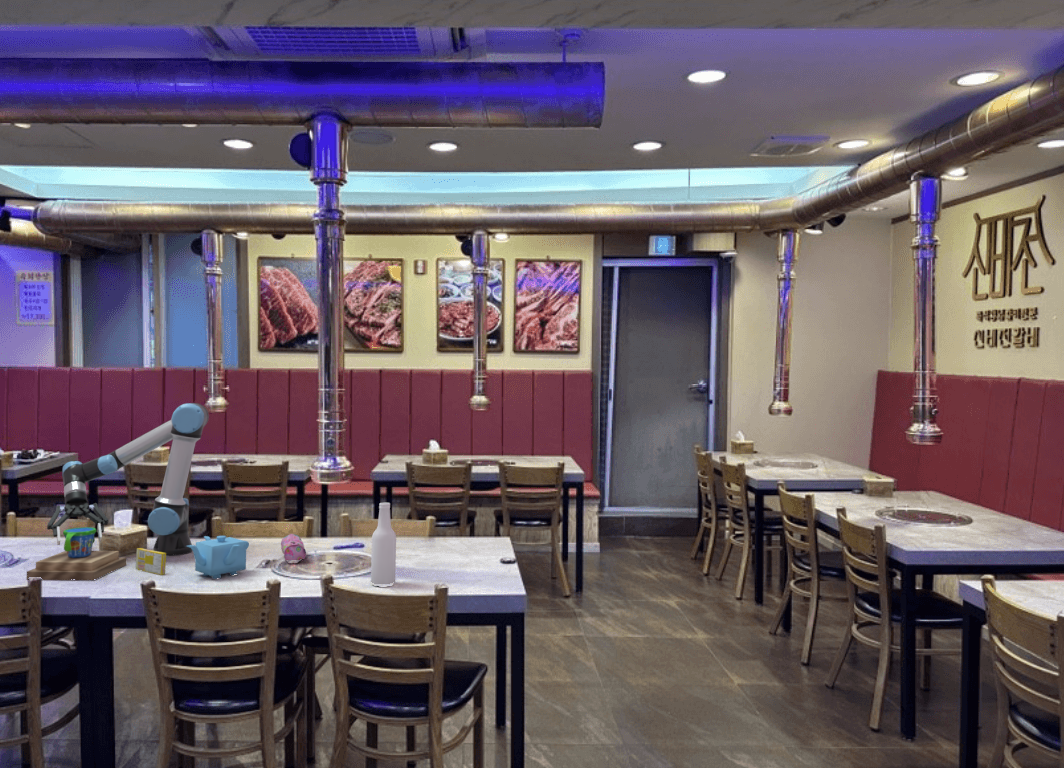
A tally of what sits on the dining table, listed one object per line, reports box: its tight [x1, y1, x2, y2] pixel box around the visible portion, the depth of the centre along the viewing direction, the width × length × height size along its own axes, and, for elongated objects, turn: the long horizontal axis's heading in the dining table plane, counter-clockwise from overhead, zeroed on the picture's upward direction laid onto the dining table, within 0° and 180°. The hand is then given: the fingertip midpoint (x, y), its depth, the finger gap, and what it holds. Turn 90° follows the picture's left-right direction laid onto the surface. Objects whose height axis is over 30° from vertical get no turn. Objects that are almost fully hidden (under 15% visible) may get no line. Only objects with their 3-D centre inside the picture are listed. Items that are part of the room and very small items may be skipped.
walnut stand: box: [26, 550, 127, 581], centre depth 293 cm, size 24×24×6 cm
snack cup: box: [63, 526, 97, 558], centre depth 293 cm, size 16×11×10 cm
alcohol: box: [370, 501, 397, 584], centre depth 284 cm, size 9×9×30 cm
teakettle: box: [187, 535, 250, 580], centre depth 293 cm, size 19×19×15 cm
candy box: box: [135, 547, 167, 576], centre depth 296 cm, size 16×2×8 cm, turn 59°
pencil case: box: [280, 533, 307, 561], centre depth 322 cm, size 21×9×9 cm, turn 20°
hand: (80, 541), depth 291 cm, fingers open, 13 cm apart
